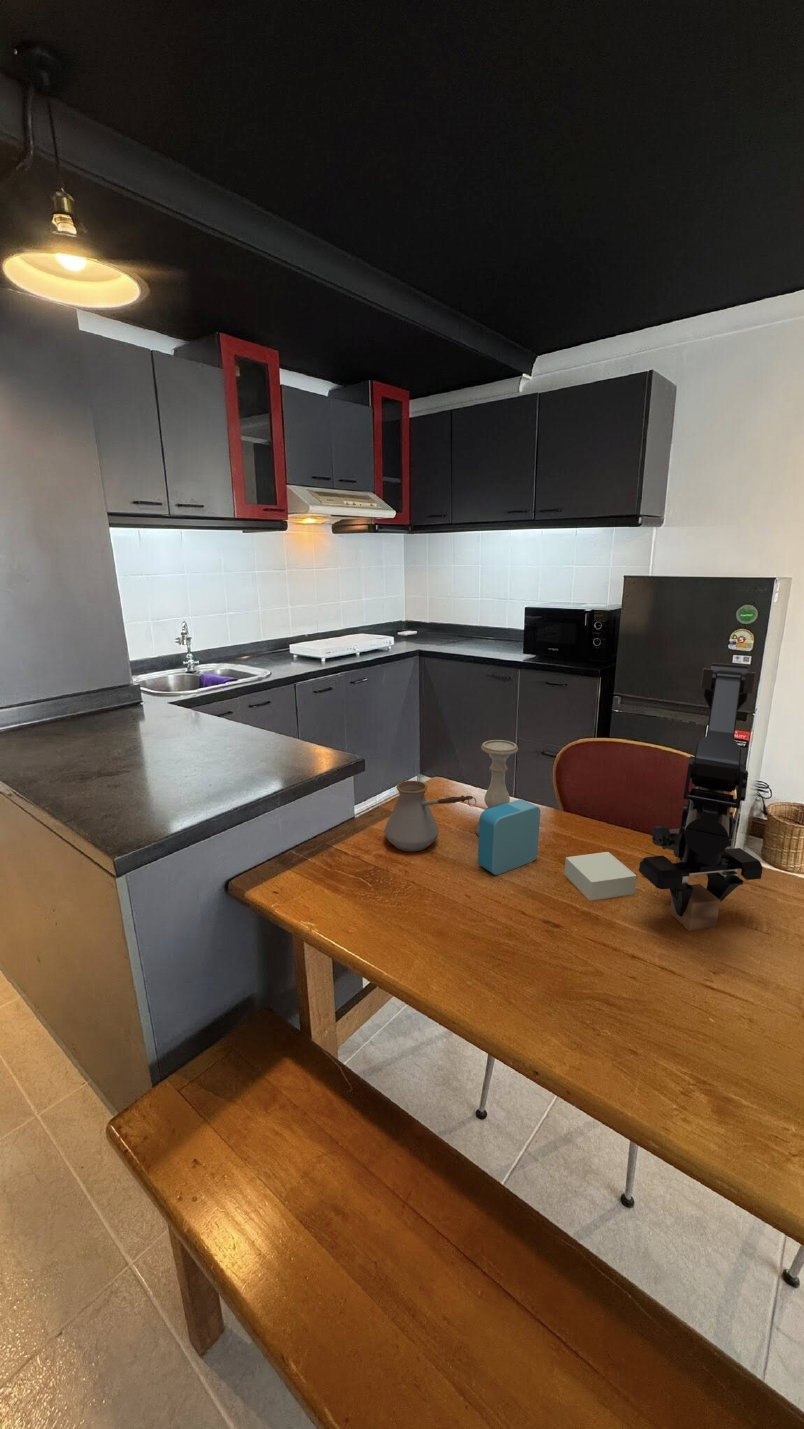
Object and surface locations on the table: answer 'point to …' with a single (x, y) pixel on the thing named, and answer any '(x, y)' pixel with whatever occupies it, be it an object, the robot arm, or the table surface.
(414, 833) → the coffee pot
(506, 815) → the blue rounded slab
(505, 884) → the table surface
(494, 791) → the candle holder
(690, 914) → the walnut cube
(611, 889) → the base block
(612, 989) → the table surface
